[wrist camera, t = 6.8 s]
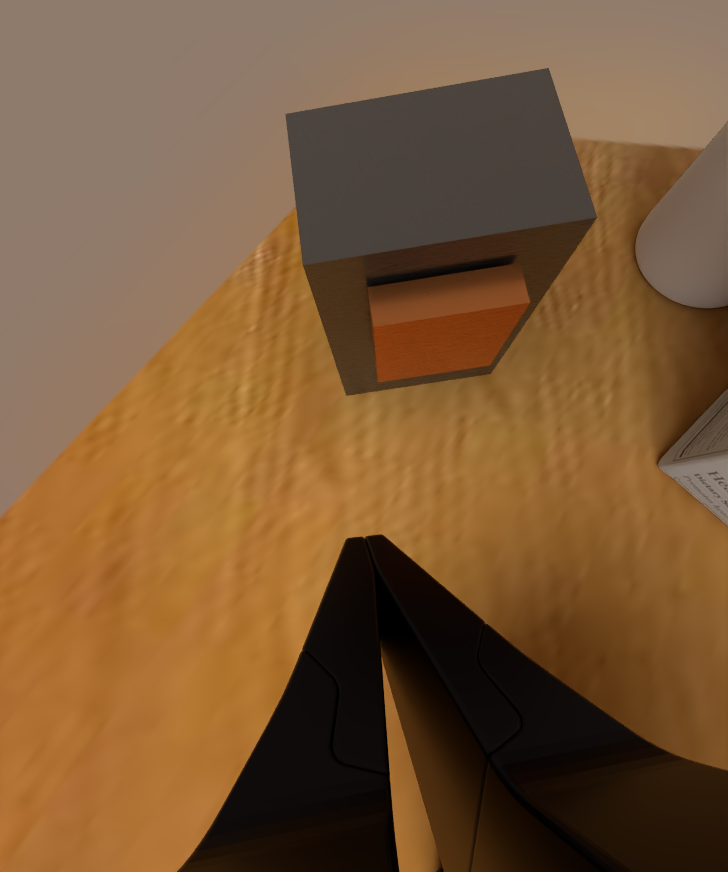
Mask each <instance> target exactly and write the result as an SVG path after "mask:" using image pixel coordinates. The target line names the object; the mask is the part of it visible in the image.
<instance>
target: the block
mask: <svg viewBox="0 0 728 872" xmlns="http://www.w3.org/2000/svg"><path fill="white" fill-rule="evenodd" d="M286 121H287V130H288V139H289V147H290V157H291V165H292V174H293V183H294V191H295V200H296V209H297V217H298V226H299V235H300V243H301V252H302V261H303V267H304V270H305V273H306V276H307V279H308V282H309V285H310V288H311V291H312V294H313V297H314V300H315V303H316V306H317V309H318V312H319V315H320V318H321V321H322V324H323V327H324V330H325V333H326V336H327V339H328V342H329V345H330V348H331V351H332V354H333V357H334V360H335V363H336V366H337V369H338V372H339V375H340V378H341V381H342V384H343V387H344V390H345V393H346V396H347V395H354V394H360V393H367V392H373V391H380V390H387V389H393V388H400V387H406V386H413V385H420V384H426V383H433V382H439V381H446V380H453V379H459V378H466V377H472V376H479V375H486V374H491V373H492V371H493V370H494V368H495V367H496V365H497V364H498V362H499V361H500V359H501V358H502V356H503V355H504V353H505V352H506V350H507V349H508V348H509V346H510V345H511V343H512V342H513V340H514V339H515V337H516V336H517V334H518V333H519V331H520V330H521V328H522V327H523V326H524V324H525V323H526V321H527V320H528V318H529V317H530V315H531V314H532V312H533V311H534V309H535V308H536V306H537V305H538V303H539V302H540V301H541V299H542V298H543V296H544V295H545V293H546V292H547V290H548V289H549V287H550V286H551V284H552V283H553V281H554V280H555V279H556V277H557V276H558V274H559V273H560V271H561V270H562V268H563V267H564V265H565V264H566V262H567V261H568V259H569V258H570V256H571V255H572V254H573V252H574V251H575V249H576V248H577V246H578V245H579V243H580V242H581V240H582V239H583V237H584V236H585V234H586V233H587V231H588V230H589V229H590V227H591V226H592V224H593V223H594V221H595V220H596V218H597V215H596V212H595V209H594V206H593V203H592V200H591V197H590V194H589V191H588V188H587V185H586V182H585V179H584V176H583V172H582V169H581V166H580V163H579V160H578V157H577V154H576V151H575V148H574V145H573V142H572V139H571V136H570V133H569V129H568V126H567V123H566V120H565V117H564V114H563V111H562V108H561V105H560V102H559V99H558V96H557V93H556V90H555V86H554V83H553V81H552V77H551V74H550V71H549V68H547V69H541V70H535V71H529V72H524V73H518V74H512V75H506V76H501V77H495V78H489V79H484V80H478V81H472V82H466V83H461V84H455V85H449V86H444V87H438V88H433V89H426V90H421V91H415V92H409V93H403V94H398V95H392V96H386V97H381V98H375V99H369V100H364V101H358V102H352V103H346V104H341V105H335V106H329V107H323V108H318V109H312V110H306V111H300V112H295V113H289V114H286ZM517 263H520V265H521V269H522V273H523V277H524V280H525V284H526V288H527V292H528V296H529V299H530V304H529V305H528V307H527V308H526V310H525V312H524V313H523V315H522V316H521V318H520V319H519V321H518V323H517V324H516V326H515V327H514V329H513V330H512V332H511V333H510V335H509V337H508V338H507V340H506V341H505V343H504V344H503V346H502V347H501V349H500V351H499V352H498V354H497V355H496V357H495V358H494V360H493V362H492V363H491V365H490V366H483V367H477V368H470V369H464V370H457V371H451V372H444V373H437V374H431V375H424V376H418V377H411V378H404V379H398V380H391V381H385V382H378V380H377V374H376V367H375V361H374V355H373V345H372V334H371V323H370V312H369V301H368V290H367V287H373V286H379V285H386V284H392V283H398V282H404V281H411V280H417V279H423V278H429V277H436V276H442V275H448V274H454V273H461V272H467V271H473V270H479V269H486V268H492V267H498V266H505V265H511V264H517Z"/></svg>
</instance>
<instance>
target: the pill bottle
mask: <svg viewBox="0 0 728 872" xmlns="http://www.w3.org/2000/svg"><path fill="white" fill-rule="evenodd" d="M635 254H636V259H637V263H638V266H639V268H640V270H641V272H642V274H643V276H644V277H645V278H646V280H647V281H648V282H649V283H650V284H651V285H652V286H653V287H654V288H655V289H656V290H657V291H658V292H660V293H661V294H662V295H664V296H665V297H667V298H669V299H671V300H673V301H675V302H677V303H680V304H683V305H686V306H690V307H696V308H718V307H724V306H728V122H727V123H726V124H725V125H724V127H723V128H722V129H721V130H720V131H719V132H718V134H717V135H716V136H715V137H714V138H713V139H712V141H711V142H710V143H709V144H708V145H707V147H706V148H705V149H704V150H703V151H702V152H701V153H700V155H699V156H698V157H697V158H696V159H695V160H694V162H693V163H692V164H691V165H690V166H689V167H688V169H687V170H686V171H685V172H684V173H683V174H682V175H681V177H680V178H679V179H678V180H677V181H676V182H675V184H674V185H673V186H672V187H671V188H670V189H669V191H668V192H667V193H666V194H665V195H664V196H663V198H662V199H661V200H660V201H659V202H658V203H657V205H656V206H655V207H654V208H653V209H652V210H651V212H650V213H649V215H648V216H647V218H646V219H645V220H644V222H643V223H642V225H641V227H640V229H639V232H638V234H637V238H636V244H635Z"/></svg>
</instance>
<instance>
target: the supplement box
mask: <svg viewBox="0 0 728 872" xmlns="http://www.w3.org/2000/svg"><path fill="white" fill-rule="evenodd" d="M658 467H659V469H660V470H662V471H663V472H665V473H666V474H668V475H669V476H671V477H672V478H673V479H674V480H675V481H677V482H678V483H679V484H680V485H681V486H682V487H683V488H684V489H686V490H687V491H688V492H689V493H690V494H691V495H692V496H694V497H695V498H696V499H697V500H698V501H699V502H700V503H702V504H703V505H704V506H705V507H706V508H707V509H709V510H710V511H711V512H712V513H713V514H714V515H715V516H717V517H718V518H719V519H720V520H721V521H722V522H724V523H725V524H726V525H727V526H728V388H727V389H726V390H725V391H724V392H723V394H722V395H721V396H720V397H719V398H718V399H717V400H716V401H715V402H714V403H713V404H712V405H711V406H710V407H709V408H708V409H707V410H706V411H705V412H704V413H703V414H702V415H701V416H700V418H699V419H698V420H697V421H696V422H695V423H694V424H693V425H692V426H691V427H690V428H689V429H688V430H687V431H686V432H685V433H684V434H683V436H682V437H681V438H680V439H679V440H678V441H677V442H676V443H675V444H674V445H673V446H672V447H671V448H670V449H669V450H668V451H667V452H666V454H665V455H664V456H663V457H662V458H661V459H660V461H659V463H658Z"/></svg>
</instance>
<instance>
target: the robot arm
mask: <svg viewBox="0 0 728 872" xmlns="http://www.w3.org/2000/svg"><path fill="white" fill-rule="evenodd" d="M302 650H303V651H302V652H301V653H300V655H299V658H298V660H297V663H296V665H295V668H294V670H293V673H292V675H291V677H290V679H289V682H288V684H287V686H286V689H285V691H284V693H283V695H282V697H281V699H280V701H279V703H278V705H277V707H276V709H275V711H274V713H273V715H272V717H271V719H270V721H269V723H268V724H267V726H266V728H265V730H264V732H263V734H262V735H261V737H260V739H259V741H258V743H257V744H256V746H255V748H254V750H253V752H252V754H251V755H250V757H249V759H248V761H247V763H246V764H245V766H244V768H243V770H242V772H241V773H240V775H239V777H238V779H237V781H236V783H235V784H234V786H233V788H232V790H231V792H230V793H229V795H228V797H227V799H226V801H225V802H224V804H223V806H222V808H221V810H220V811H219V813H218V815H217V817H216V818H215V820H214V822H213V824H212V825H211V827H210V828H209V830H208V831H207V833H206V835H205V836H204V838H203V839H202V841H201V842H200V844H199V845H198V846H197V848H196V849H195V851H194V852H193V853H192V855H191V856H190V857H189V858H188V860H187V861H186V862H185V863H184V864H183V866H182V867H181V868H180V869H179V870H178V871H177V872H399V865H398V857H397V849H396V841H395V832H394V822H393V811H392V799H391V786H390V772H389V758H388V744H387V730H386V716H385V702H384V688H383V674H382V660H383V663H384V667H385V670H386V674H387V677H388V681H389V684H390V688H391V691H392V694H393V698H394V701H395V705H396V708H397V712H398V715H399V719H400V722H401V725H402V729H403V732H404V736H405V739H406V743H407V746H408V750H409V753H410V756H411V760H412V763H413V767H414V770H415V774H416V777H417V781H418V784H419V787H420V791H421V794H422V798H423V801H424V805H425V808H426V812H427V815H428V819H429V822H430V825H431V829H432V832H433V836H434V839H435V843H436V846H437V850H438V853H439V856H440V860H441V863H442V867H443V868H439V869H438V870H437V872H728V771H727V770H723V769H719V768H716V767H712V766H708V765H705V764H701V763H697V762H694V761H691V760H688V759H685V758H682V757H680V756H677V755H674V754H672V753H670V752H668V751H666V750H664V749H662V748H660V747H658V746H656V745H654V744H652V743H651V742H649V741H647V740H645V739H644V738H642V737H640V736H639V735H637V734H636V733H634V732H633V731H631V730H630V729H628V728H627V727H625V726H624V725H622V724H621V723H620V722H618V721H617V720H615V719H614V718H613V717H611V716H610V715H608V714H607V713H605V712H604V711H603V710H601V709H600V708H598V707H597V706H596V705H594V704H593V703H591V702H590V701H589V700H587V699H586V698H584V697H583V696H581V695H580V694H579V693H577V692H576V691H574V690H573V689H572V688H570V687H569V686H567V685H566V684H564V683H563V682H562V681H560V680H559V679H557V678H556V677H555V676H553V675H552V674H550V673H549V672H548V671H546V670H545V669H544V668H542V667H541V666H540V665H538V664H537V663H536V662H534V661H533V660H531V659H530V658H529V657H527V656H526V655H525V654H524V653H522V652H521V651H520V650H519V649H517V648H516V647H515V646H514V645H512V644H511V643H510V642H509V641H507V640H506V639H505V638H504V637H503V636H501V635H500V634H499V633H498V632H497V631H495V630H494V629H493V628H492V627H491V626H490V625H488V624H485V622H484V621H483V620H482V619H481V618H480V617H479V616H478V615H476V614H475V613H474V612H473V611H472V610H471V609H469V608H468V607H467V606H466V605H465V604H463V603H462V602H461V601H460V600H459V599H458V598H456V597H455V596H454V595H453V594H452V593H451V592H449V591H448V590H447V589H446V588H445V587H444V586H442V585H441V584H440V583H439V582H438V581H436V580H435V579H434V578H433V577H432V576H431V575H429V574H428V573H427V572H426V571H425V570H424V569H422V568H421V567H420V566H419V565H418V564H417V563H415V562H414V561H413V560H412V559H411V558H409V557H408V556H407V555H406V554H405V553H404V552H402V551H401V550H400V549H399V548H398V547H397V546H395V545H394V544H393V543H392V542H391V541H390V540H388V539H387V538H386V537H385V536H384V535H371V536H366V537H365V539H364V537H353V538H347V539H346V541H345V543H344V545H343V548H342V550H341V553H340V555H339V558H338V560H337V563H336V566H335V568H334V571H333V573H332V576H331V578H330V581H329V583H328V586H327V588H326V591H325V593H324V596H323V598H322V601H321V603H320V606H319V608H318V611H317V613H316V616H315V618H314V621H313V623H312V626H311V628H310V631H309V633H308V636H307V638H306V641H305V643H304V646H303V649H302ZM381 656H382V660H381Z"/></svg>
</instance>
